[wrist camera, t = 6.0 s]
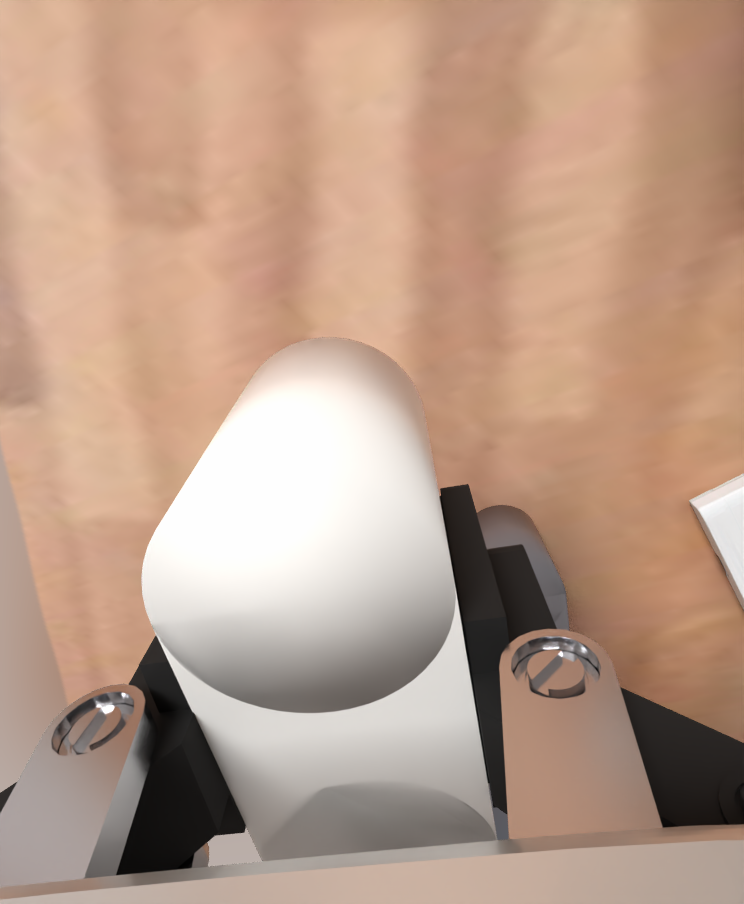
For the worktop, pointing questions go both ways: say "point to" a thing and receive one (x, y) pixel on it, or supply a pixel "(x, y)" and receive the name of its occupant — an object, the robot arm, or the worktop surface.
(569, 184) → the worktop surface
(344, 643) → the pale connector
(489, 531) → the charcoal connector
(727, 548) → the external hard drive
